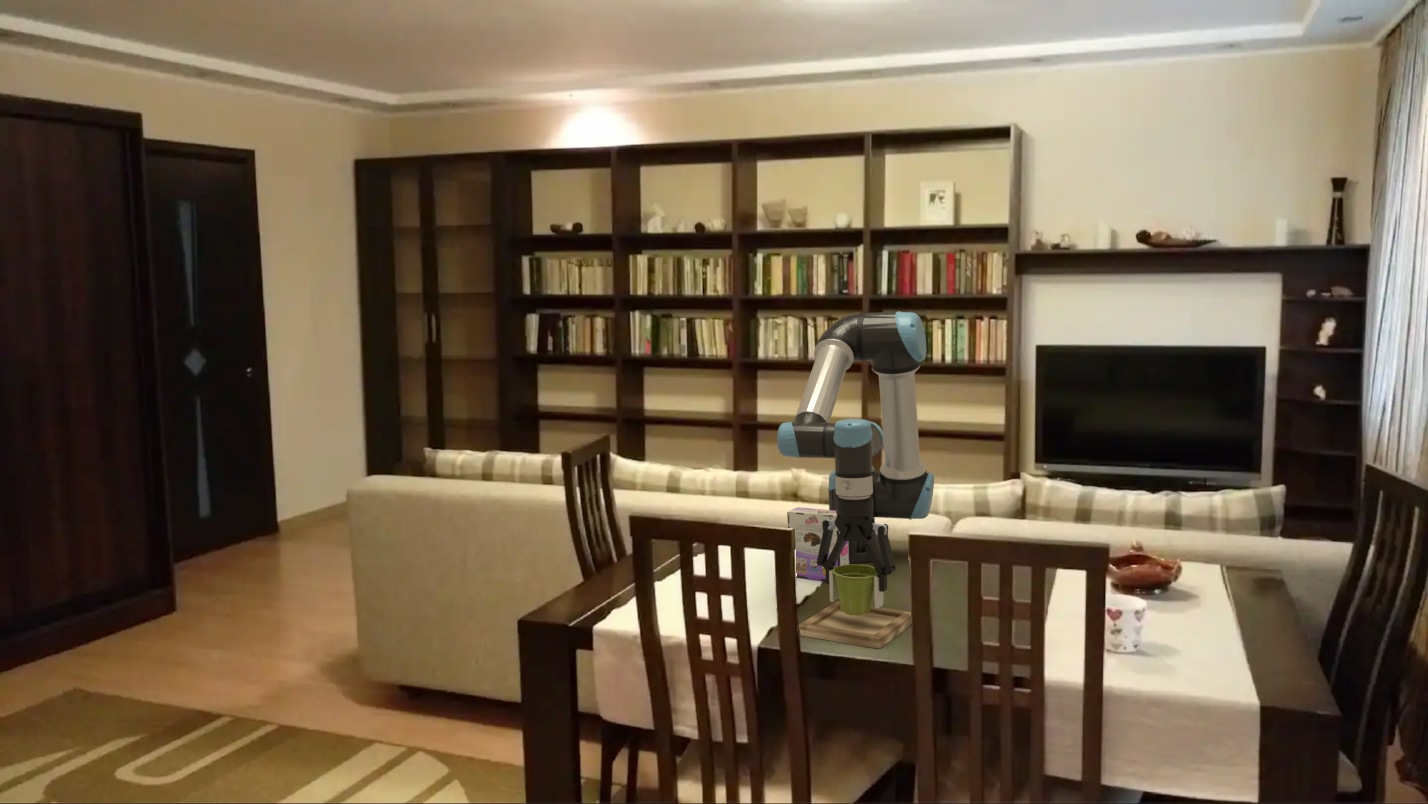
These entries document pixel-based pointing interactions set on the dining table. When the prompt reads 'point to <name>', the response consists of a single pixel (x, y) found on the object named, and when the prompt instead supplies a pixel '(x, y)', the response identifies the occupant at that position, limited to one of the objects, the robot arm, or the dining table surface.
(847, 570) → the plant pot
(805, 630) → the wooden tray
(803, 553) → the candy box
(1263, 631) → the dining table surface
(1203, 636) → the dining table surface
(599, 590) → the dining table surface
